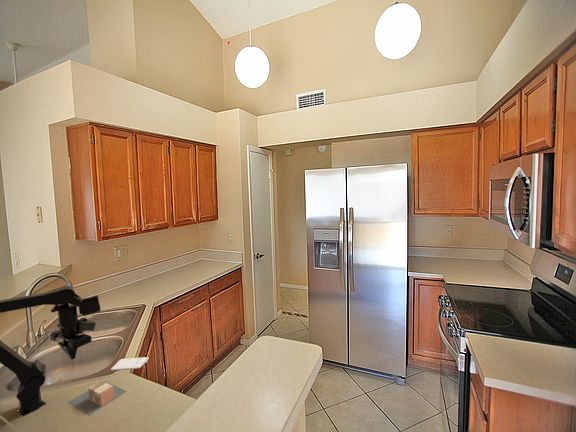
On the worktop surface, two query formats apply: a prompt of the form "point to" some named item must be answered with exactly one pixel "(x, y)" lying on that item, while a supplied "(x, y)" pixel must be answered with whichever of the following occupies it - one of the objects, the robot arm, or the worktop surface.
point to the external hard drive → (129, 363)
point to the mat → (90, 406)
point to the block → (101, 393)
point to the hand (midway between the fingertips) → (72, 358)
